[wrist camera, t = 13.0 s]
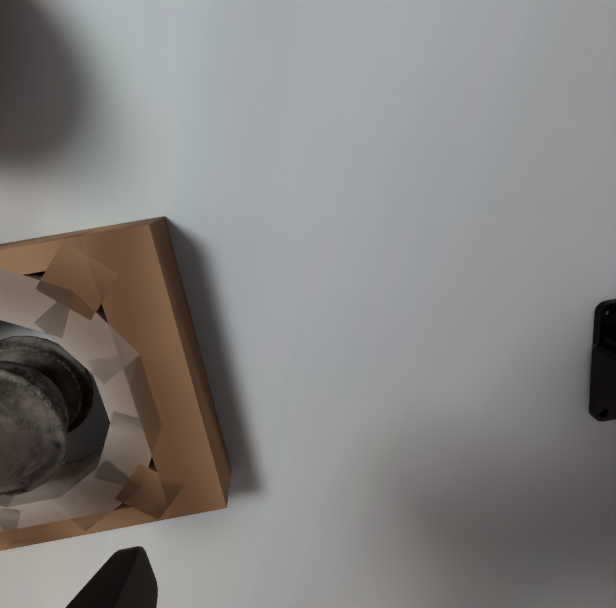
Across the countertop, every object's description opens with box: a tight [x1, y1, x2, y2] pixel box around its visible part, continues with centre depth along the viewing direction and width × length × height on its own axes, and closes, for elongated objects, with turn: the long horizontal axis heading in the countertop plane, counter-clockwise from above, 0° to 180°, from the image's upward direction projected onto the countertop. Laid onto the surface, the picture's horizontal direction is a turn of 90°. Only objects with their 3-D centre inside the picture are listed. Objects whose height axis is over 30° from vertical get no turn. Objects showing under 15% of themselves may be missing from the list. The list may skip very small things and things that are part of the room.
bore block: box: [0, 216, 231, 551], centre depth 19 cm, size 16×13×2 cm
